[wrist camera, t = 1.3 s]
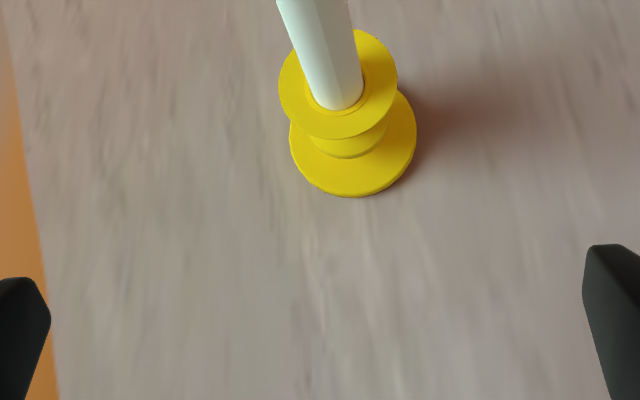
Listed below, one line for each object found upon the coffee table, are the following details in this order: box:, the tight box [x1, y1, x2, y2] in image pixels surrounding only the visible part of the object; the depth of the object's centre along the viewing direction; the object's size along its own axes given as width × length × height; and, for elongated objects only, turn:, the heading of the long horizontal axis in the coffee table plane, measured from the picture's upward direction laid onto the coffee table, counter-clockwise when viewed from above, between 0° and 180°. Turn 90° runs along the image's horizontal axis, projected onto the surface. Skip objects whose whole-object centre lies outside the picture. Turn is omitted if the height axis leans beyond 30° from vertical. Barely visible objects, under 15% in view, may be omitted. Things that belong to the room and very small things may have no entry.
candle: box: [275, 0, 417, 198], centre depth 16 cm, size 5×5×16 cm
